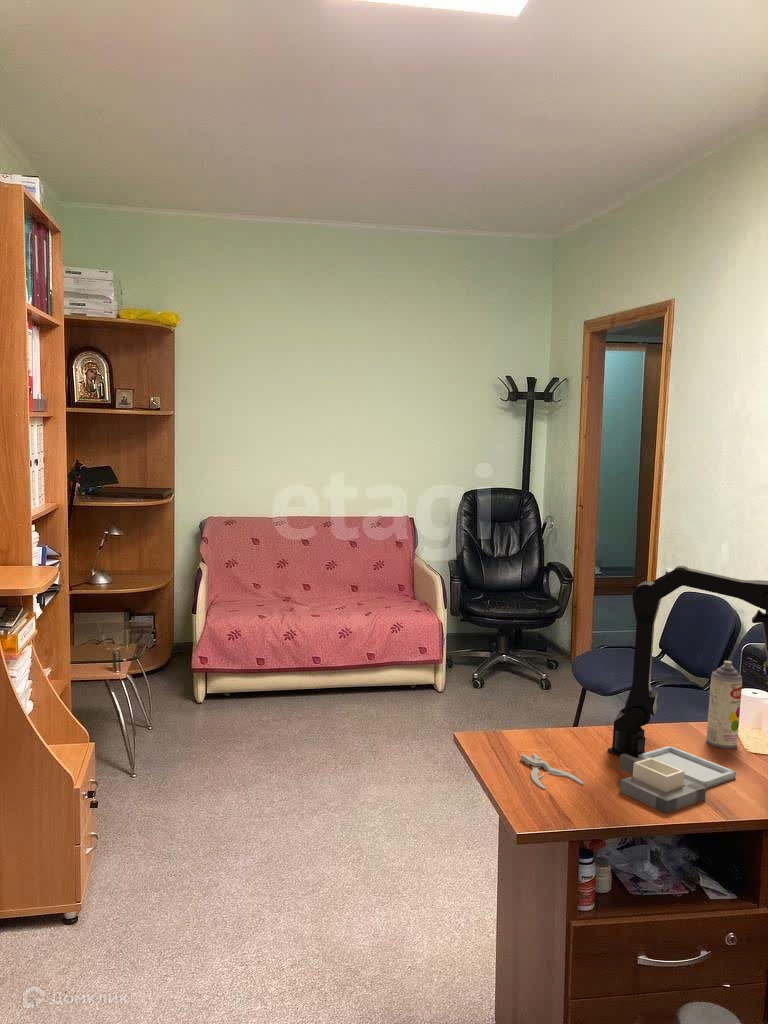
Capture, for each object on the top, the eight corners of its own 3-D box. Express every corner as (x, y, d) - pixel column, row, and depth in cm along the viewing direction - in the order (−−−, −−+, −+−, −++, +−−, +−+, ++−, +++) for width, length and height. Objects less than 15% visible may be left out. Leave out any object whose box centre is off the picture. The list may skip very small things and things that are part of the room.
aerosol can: (730, 751, 188) (737, 667, 186) (701, 742, 192) (708, 661, 191) (741, 743, 193) (747, 662, 191) (712, 735, 197) (718, 656, 196)
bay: (619, 791, 163) (620, 779, 163) (658, 779, 170) (659, 767, 170) (666, 813, 154) (667, 801, 154) (705, 799, 161) (705, 787, 161)
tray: (637, 761, 179) (638, 754, 179) (669, 751, 186) (669, 745, 186) (704, 789, 166) (704, 782, 166) (735, 778, 172) (735, 771, 172)
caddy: (612, 779, 169) (614, 754, 168) (629, 774, 172) (631, 749, 171) (665, 803, 158) (667, 776, 158) (682, 797, 161) (684, 771, 161)
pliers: (542, 783, 162) (507, 755, 176) (542, 791, 162) (507, 762, 177) (584, 778, 166) (547, 751, 180) (584, 786, 166) (546, 758, 180)
